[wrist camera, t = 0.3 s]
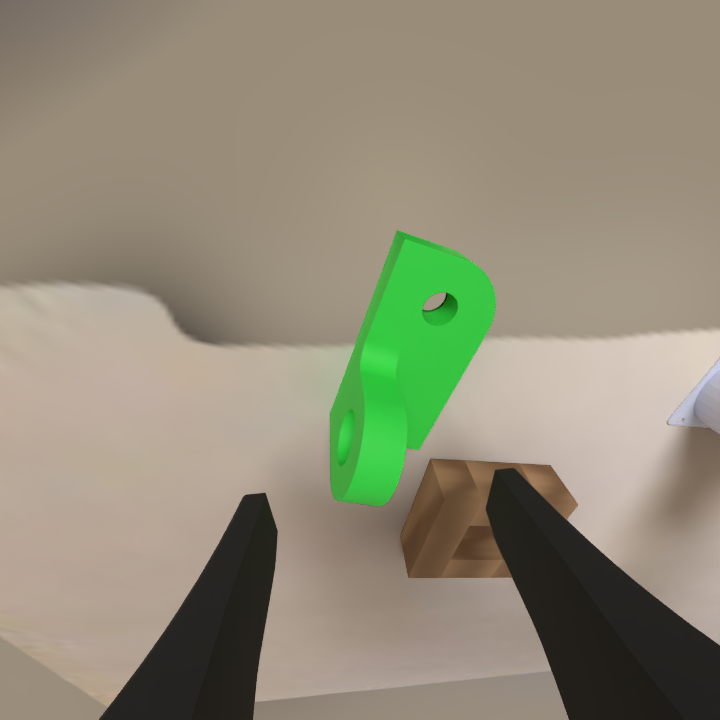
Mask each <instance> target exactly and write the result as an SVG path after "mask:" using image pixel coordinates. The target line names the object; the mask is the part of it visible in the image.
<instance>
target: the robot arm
mask: <svg viewBox="0 0 720 720" xmlns="http://www.w3.org/2000/svg"><path fill="white" fill-rule="evenodd" d="M681 418H683V420H682V421H681V422H678V423H677V421H678V420H679V419H681ZM667 424H669V425H677V426H689V427H702V428H711V429H713V430H714V431H715V432H717V433H718V434H719V435H720V358H719V359H718V360H717V361H716V363H715V364H714V365H713V366H712V367H711V369H710V370H709V371H708V372H707V373H706V375H705V376H704V377H703V378H702V379H701V380H700V382H699V383H698V384H697V385H696V386H695V388H694V389H693V390H692V391H691V392H690V394H689V395H688V396H687V397H686V398H685V399H684V401H683V402H682V403H681V404H680V405H679V407H678V408H677V409H676V410H675V411H674V413H673V414H672V415H671V416H670V417H669V418H668V420H667ZM486 513H487V516H488V519H489V522H490V525H491V528H492V531H493V534H494V537H495V540H496V542H497V545H498V547H499V549H500V552H501V554H502V556H503V558H504V560H505V563H506V565H507V567H508V569H509V571H510V574H511V576H512V578H513V580H514V582H515V584H516V587H517V589H518V591H519V593H520V595H521V597H522V600H523V602H524V604H525V606H526V608H527V611H528V613H529V615H530V617H531V619H532V621H533V624H534V626H535V628H536V631H537V633H538V636H539V638H540V640H541V643H542V646H543V648H544V651H545V654H546V656H547V659H548V662H549V665H550V667H551V670H552V672H553V675H554V678H555V681H556V684H557V686H558V689H559V692H560V695H561V698H562V701H563V704H564V707H565V709H566V712H567V715H568V718H569V720H720V645H719V644H717V643H716V642H714V641H713V640H711V639H710V638H709V637H707V636H706V635H704V634H703V633H702V632H700V631H699V630H697V629H696V628H695V627H693V626H692V625H691V624H689V623H688V622H687V621H685V620H684V619H683V618H681V617H680V616H679V615H677V614H676V613H675V612H673V611H672V610H671V609H670V608H668V607H667V606H666V605H664V604H663V603H662V602H660V601H659V600H658V599H657V598H655V597H654V596H653V595H652V594H650V593H649V592H648V591H647V590H645V589H644V588H643V587H642V586H640V585H639V584H638V583H637V582H636V581H634V580H633V579H632V578H631V577H630V576H628V575H627V574H626V573H625V572H624V571H622V570H621V569H620V568H619V567H618V566H617V565H615V564H614V563H613V562H612V561H611V560H610V559H609V558H607V557H606V556H605V555H604V554H603V553H602V552H601V551H600V550H598V549H597V548H596V547H595V546H594V545H593V544H592V543H591V542H590V541H588V540H587V539H586V538H585V537H584V536H583V535H582V534H581V533H580V532H579V531H578V530H577V529H576V528H575V527H574V526H572V525H571V524H570V523H569V522H568V521H567V520H566V519H565V518H564V517H563V516H562V515H561V514H560V513H559V512H558V511H557V510H556V509H555V508H554V507H553V506H552V505H551V504H550V503H549V502H548V501H547V500H546V499H545V498H544V497H543V496H542V495H541V494H540V493H539V492H538V491H537V490H536V489H535V488H534V487H533V486H532V485H531V484H530V483H529V482H528V481H527V480H526V479H525V478H524V477H523V476H522V475H521V474H520V473H519V472H518V471H517V470H516V469H515V468H506V469H496V470H495V472H494V476H493V480H492V484H491V488H490V492H489V497H488V501H487V505H486ZM277 533H278V531H277V528H276V525H275V521H274V518H273V515H272V512H271V509H270V506H269V503H268V499H267V496H266V493H259V494H250V495H245V496H244V497H243V498H242V500H241V502H240V504H239V506H238V508H237V510H236V512H235V514H234V516H233V518H232V520H231V522H230V524H229V526H228V527H227V529H226V531H225V533H224V535H223V537H222V539H221V540H220V542H219V544H218V546H217V548H216V549H215V551H214V553H213V554H212V556H211V558H210V560H209V561H208V563H207V565H206V567H205V568H204V570H203V572H202V573H201V575H200V577H199V578H198V580H197V582H196V583H195V585H194V586H193V588H192V589H191V591H190V593H189V594H188V596H187V597H186V599H185V601H184V602H183V604H182V605H181V607H180V608H179V610H178V612H177V613H176V615H175V616H174V618H173V619H172V621H171V622H170V624H169V625H168V627H167V628H166V630H165V631H164V632H163V634H162V635H161V637H160V638H159V640H158V641H157V643H156V644H155V645H154V647H153V648H152V650H151V651H150V652H149V654H148V655H147V657H146V658H145V659H144V661H143V662H142V664H141V665H140V666H139V668H138V669H137V670H136V672H135V673H134V674H133V676H132V677H131V678H130V680H129V681H128V682H127V684H126V685H125V686H124V687H123V689H122V690H121V691H120V693H119V694H118V695H117V697H116V698H115V699H114V701H113V702H112V703H111V705H110V706H109V707H108V708H107V710H106V711H105V712H104V714H103V715H102V716H101V717H100V719H99V720H253V713H254V712H253V711H254V702H255V692H256V682H257V673H258V666H259V659H260V652H261V647H262V641H263V635H264V629H265V623H266V618H267V612H268V606H269V600H270V595H271V589H272V583H273V577H274V571H275V562H276V549H277Z"/></svg>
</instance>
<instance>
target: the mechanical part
mask: <svg viewBox="0 0 720 720" xmlns="http://www.w3.org/2000/svg"><path fill="white" fill-rule="evenodd" d="M440 292H446V297H445V300H444V301H443V303H442V304H441V305H440V306H439V307H437V308H435V309H433V310H423V305H424V303H425V302H426V300H427V299H428V298H429V297H431V296H432V295H434V294H436V293H440ZM495 307H496V298H495V292H494V289H493V286H492V283H491V281H490V279H489V278H488V276H487V275H486V274H485V272H484V271H483V270H481V268H479V267H478V266H476V265H475V264H474V263H473V262H471V261H470V260H469V259H467V258H466V257H465V256H463V255H462V254H461V253H459V252H457V251H455V250H453V249H450V248H447V247H444V246H442V245H439V244H436V243H433V242H430V241H427V240H424V239H422V238H419V237H416V236H413V235H410V234H407V233H404V232H402V231H399V230H397V231H396V234H395V237H394V240H393V243H392V245H391V248H390V251H389V253H388V256H387V259H386V261H385V264H384V267H383V269H382V272H381V275H380V278H379V280H378V283H377V286H376V288H375V291H374V294H373V297H372V299H371V302H370V305H369V308H368V310H367V313H366V316H365V318H364V321H363V324H362V326H361V329H360V332H359V335H358V337H357V340H356V343H355V348H354V350H353V353H352V356H351V358H350V361H349V364H348V367H347V369H346V372H345V375H344V377H343V380H342V383H341V385H340V388H339V391H338V393H337V396H336V399H335V402H334V404H333V407H332V410H331V412H330V481H331V490H332V495H333V497H334V499H335V500H337V501H343V502H350V503H357V504H365V505H372V506H383V505H384V504H386V503H387V502H388V501H389V500H390V498H391V497H392V495H393V493H394V491H395V489H396V487H397V485H398V482H399V479H400V476H401V472H402V469H403V464H404V459H405V454H406V448H410V449H416V450H419V449H420V447H421V445H422V444H423V442H424V440H425V439H426V437H427V435H428V433H429V432H430V430H431V428H432V426H433V425H434V423H435V421H436V420H437V418H438V416H439V414H440V413H441V411H442V409H443V408H444V406H445V404H446V402H447V401H448V399H449V397H450V396H451V394H452V392H453V390H454V389H455V387H456V385H457V383H458V382H459V380H460V378H461V377H462V375H463V373H464V371H465V370H466V368H467V366H468V365H469V363H470V361H471V359H472V358H473V356H474V354H475V353H476V351H477V349H478V347H479V346H480V344H481V342H482V340H483V339H484V337H485V335H486V334H487V332H488V330H489V328H490V326H491V324H492V321H493V318H494V314H495Z"/></svg>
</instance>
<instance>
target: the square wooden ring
mask: <svg viewBox="0 0 720 720" xmlns="http://www.w3.org/2000/svg"><path fill="white" fill-rule="evenodd" d="M506 468H515V469H516V470H517V471H518V472H519V473H520V474H521V475H522V476H523V477H524V478H525V479H526V480H527V481H528V482H529V483H530V484H531V485H532V486H533V487H534V488H535V489H536V490H537V491H538V492H539V493H540V494H541V495H542V496H543V497H544V498H545V499H546V500H547V501H548V502H549V503H550V504H551V505H552V506H553V507H554V508H555V509H556V510H557V511H558V512H559V513H560V514H561V515H562V516H563V517H564V518H565V519H566V520H567V518H568V517H569V516H570V515H571V513H572V512H573V511H574V510H575V508H576V507H577V506H578V504H577V502H576V501H575V499H574V498H573V496H572V495H571V494H570V492H569V491H568V489H567V488H566V487H565V485H564V484H563V482H562V481H561V480H560V478H559V477H558V475H557V474H556V472H555V471H554V470H553V468H552V467H551V465H534V464H516V463H498V462H479V461H461V460H443V459H430V462H429V464H428V467H427V470H426V472H425V475H424V477H423V480H422V482H421V485H420V487H419V490H418V493H417V495H416V498H415V500H414V503H413V505H412V508H411V510H410V513H409V515H408V518H407V521H406V523H405V526H404V528H403V531H402V533H401V541H402V546H403V552H404V557H405V562H406V568H407V573H408V578H495V577H512V576H511V574H510V571H509V569H508V567H507V565H506V563H505V560H504V558H503V556H502V554H501V552H500V549H499V547H498V545H497V542H496V540H495V537H494V534H493V531H492V528H491V525H490V522H489V519H488V516H487V513H486V505H487V501H488V497H489V492H490V488H491V484H492V480H493V476H494V472H495V470H496V469H506Z"/></svg>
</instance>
